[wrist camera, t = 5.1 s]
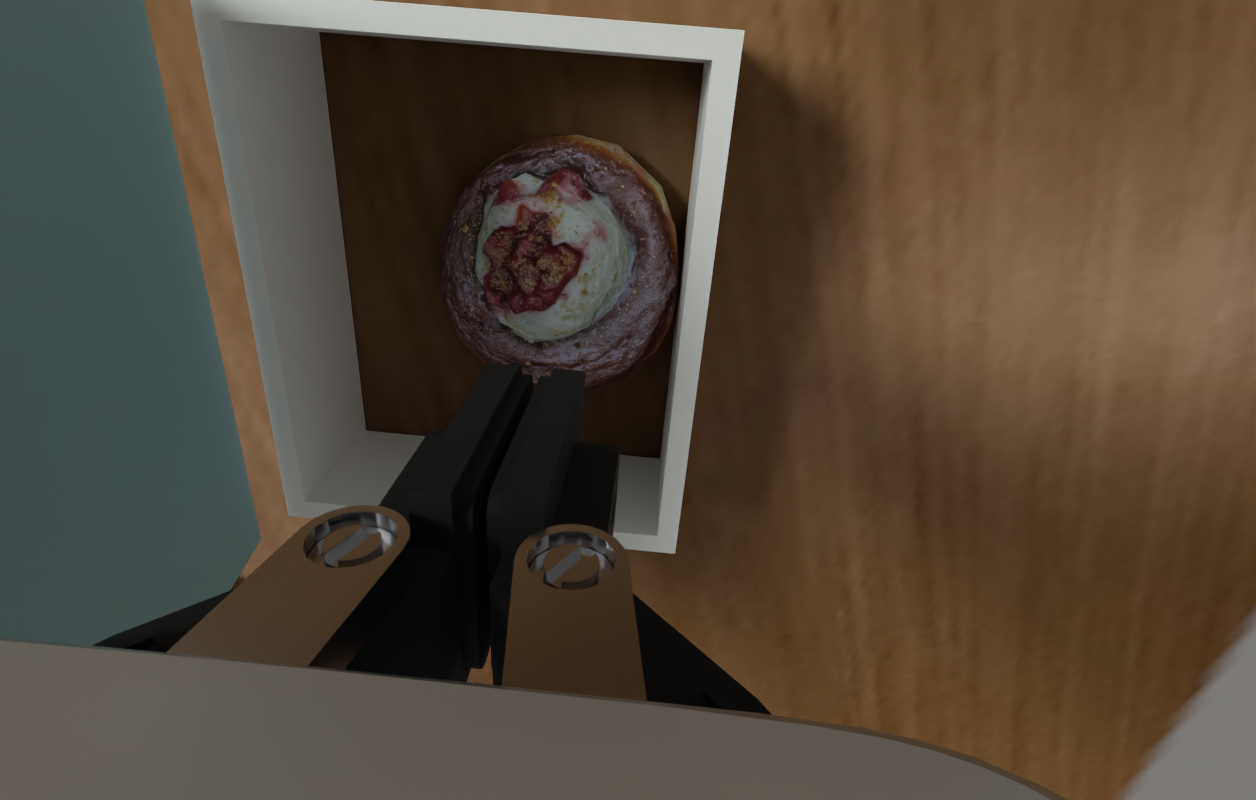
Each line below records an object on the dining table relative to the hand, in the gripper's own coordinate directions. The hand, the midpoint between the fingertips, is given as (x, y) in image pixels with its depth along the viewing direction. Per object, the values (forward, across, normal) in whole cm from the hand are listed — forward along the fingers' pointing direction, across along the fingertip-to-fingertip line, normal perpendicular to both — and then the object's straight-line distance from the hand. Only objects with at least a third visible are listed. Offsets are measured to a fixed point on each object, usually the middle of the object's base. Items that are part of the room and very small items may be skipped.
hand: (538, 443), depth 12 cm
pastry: (+11, +1, 0) cm, 11 cm away
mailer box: (+11, +3, 0) cm, 11 cm away
